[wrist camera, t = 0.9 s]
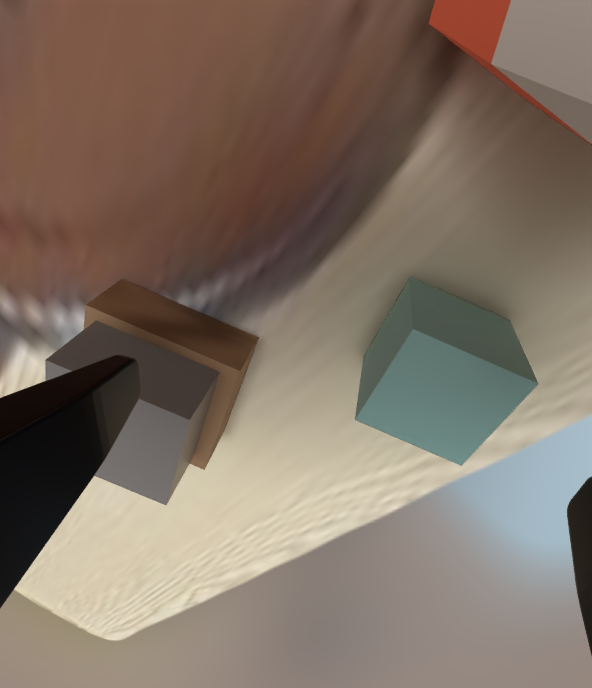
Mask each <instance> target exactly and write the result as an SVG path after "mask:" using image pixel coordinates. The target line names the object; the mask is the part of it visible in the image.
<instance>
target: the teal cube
mask: <svg viewBox="0 0 592 688" xmlns="http://www.w3.org/2000/svg"><path fill="white" fill-rule="evenodd" d="M537 385H538V382H537V380H536V377H535V375H534V373H533V371H532V369H531V366H530V364H529V362H528V360H527V358H526V355H525V353H524V351H523V349H522V347H521V344H520V342H519V340H518V338H517V336H516V333H515V331H514V329H513V327H512V325H511V322H510V320H508V319H506V318H504V317H501V316H499V315H497V314H494V313H492V312H490V311H488V310H485V309H483V308H481V307H479V306H476V305H474V304H472V303H470V302H467V301H465V300H463V299H460V298H458V297H456V296H454V295H451V294H449V293H447V292H445V291H442V290H440V289H438V288H435V287H433V286H431V285H429V284H426V283H424V282H422V281H420V280H417V279H415V278H413V277H410V278H409V280H408V282H407V283H406V285H405V287H404V289H403V290H402V292H401V294H400V295H399V297H398V299H397V301H396V302H395V304H394V306H393V307H392V309H391V311H390V313H389V314H388V316H387V318H386V319H385V321H384V323H383V325H382V326H381V328H380V330H379V331H378V333H377V335H376V337H375V338H374V340H373V342H372V344H371V345H370V347H369V349H368V350H367V352H366V354H365V356H364V357H363V365H362V372H361V379H360V387H359V394H358V402H357V409H356V416H355V420H357V421H359V422H361V423H364V424H366V425H368V426H371V427H373V428H375V429H378V430H380V431H382V432H384V433H387V434H389V435H391V436H394V437H396V438H398V439H401V440H403V441H405V442H408V443H410V444H412V445H415V446H417V447H419V448H421V449H424V450H426V451H428V452H431V453H433V454H435V455H438V456H440V457H442V458H445V459H447V460H449V461H452V462H454V463H456V464H459V465H461V466H462V465H463V463H464V462H465V461H466V460H467V459H468V458H469V457H470V456H471V455H472V454H473V453H474V452H475V451H476V450H477V449H478V448H479V446H480V445H481V444H482V443H483V442H484V441H485V440H486V439H487V438H488V437H489V436H490V435H491V434H492V433H493V432H494V431H495V429H496V428H497V427H498V426H499V425H500V424H501V423H502V422H503V421H504V420H505V419H506V418H507V417H508V416H509V415H510V414H511V412H512V411H513V410H514V409H515V408H516V407H517V406H518V405H519V404H520V403H521V402H522V401H523V400H524V399H525V398H526V396H527V395H528V394H529V393H530V392H531V391H532V390H533V389H534V388H535V387H536V386H537Z"/></svg>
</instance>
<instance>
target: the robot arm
mask: <svg viewBox="0 0 592 688" xmlns="http://www.w3.org/2000/svg"><path fill="white" fill-rule="evenodd" d="M140 394H141V382H140V371H139V363H138V361H137V360H136V359H135V358H132V357H128V356H124V355H114V356H111V357H109V358H106V359H103V360H101V361H98V362H95V363H93V364H90V365H87V366H85V367H82V368H79V369H76V370H74V371H71V372H68V373H66V374H63V375H60V376H58V377H55V378H52V379H50V380H47V381H44V382H42V383H39V384H36V385H34V386H31V387H28V388H26V389H23V390H20V391H18V392H15V393H12V394H10V395H7V396H4V397H2V398H0V608H1V607H2V605H3V604H4V602H5V601H6V599H7V598H8V597H9V595H10V594H11V593H12V591H13V590H14V588H15V587H16V585H17V584H18V583H19V581H20V580H21V578H22V577H23V576H24V574H25V573H26V571H27V570H28V568H29V567H30V566H31V564H32V563H33V561H34V560H35V559H36V557H37V556H38V554H39V553H40V552H41V550H42V549H43V547H44V546H45V544H46V543H47V542H48V540H49V539H50V537H51V536H52V535H53V533H54V532H55V530H56V529H57V527H58V526H59V525H60V523H61V522H62V520H63V519H64V518H65V516H66V515H67V513H68V512H69V510H70V509H71V508H72V506H73V505H74V503H75V502H76V501H77V499H78V498H79V496H80V495H81V494H82V492H83V491H84V489H85V488H86V486H87V485H88V484H89V482H90V481H91V479H92V478H93V477H94V475H95V474H96V472H97V471H98V469H99V468H100V466H101V465H102V463H103V462H104V460H105V459H106V457H107V455H108V454H109V452H110V450H111V449H112V447H113V445H114V443H115V441H116V439H117V438H118V436H119V434H120V432H121V430H122V429H123V427H124V425H125V423H126V421H127V420H128V418H129V416H130V414H131V412H132V411H133V409H134V407H135V405H136V403H137V402H138V400H139V397H140ZM567 518H568V526H569V534H570V542H571V549H572V557H573V565H574V572H575V581H576V587H577V594H578V598H579V603H580V608H581V613H582V617H583V621H584V626H585V630H586V634H587V638H588V642H589V646H590V651H591V655H592V477H590V478H588V479H587V481H586V482H585V483H584V484H583V486H582V487H581V488H580V490H579V491H578V492H577V493H576V494H575V496H574V497H573V498H572V499H571V501H570V502H569V505H568V508H567Z"/></svg>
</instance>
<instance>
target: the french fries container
mask: <svg viewBox="0 0 592 688" xmlns="http://www.w3.org/2000/svg"><path fill="white" fill-rule="evenodd" d="M429 24H430V25H431V26H432V27H434V28H435V29H436V30H438V31H439V32H440V33H441V34H443V35H444V36H445V37H446V38H448V39H449V40H450V41H452V42H453V43H454V44H455V45H457V46H458V47H459V48H460V49H462V50H463V51H464V52H466V53H467V54H468V55H469V56H471V57H472V58H473V59H474V60H476V61H477V62H478V63H480V64H481V65H482V66H483V67H485V68H486V69H487V70H488V71H490V72H491V73H492V74H494V75H495V76H496V77H497V78H499V79H500V80H501V81H502V82H504V83H505V84H506V85H508V86H509V87H510V88H511V89H513V90H514V91H515V92H516V93H518V94H519V95H520V96H522V97H523V98H524V99H526V100H527V101H529V102H530V103H531V104H533V105H534V106H536V107H537V108H539V109H540V110H542V111H543V112H544V113H546V114H547V115H549V116H550V117H552V118H553V119H555V120H556V121H557V122H559V123H560V124H562V125H563V126H565V127H566V128H568V129H569V130H571V131H572V132H573V133H575V134H576V135H578V136H579V137H581V138H582V139H584V140H585V141H586V142H588V143H589V144H591V145H592V0H435V3H434V6H433V10H432V13H431V17H430V20H429Z"/></svg>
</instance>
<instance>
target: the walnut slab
mask: <svg viewBox="0 0 592 688" xmlns="http://www.w3.org/2000/svg"><path fill="white" fill-rule="evenodd" d="M95 321H99V322H101V323H104V324H106V325H108V326H111V327H113V328H116V329H118V330H120V331H123V332H125V333H128V334H130V335H132V336H135V337H137V338H140V339H142V340H144V341H147V342H149V343H152V344H154V345H156V346H159V347H161V348H164V349H166V350H168V351H171V352H173V353H176V354H178V355H180V356H183V357H185V358H188V359H190V360H192V361H195V362H197V363H200V364H202V365H204V366H207V367H209V368H212V369H214V370H216V371H219V372H220V373H219V377H218V380H217V383H216V386H215V389H214V393H213V396H212V399H211V402H210V406H209V409H208V412H207V415H206V419H205V422H204V425H203V428H202V432H201V435H200V438H199V441H198V445H197V448H196V451H195V454H194V456H193V458H192V460H191V461H190V464H192V465H194V466H197V467H199V468H202V469H204V470H205V468H206V466H207V464H208V462H209V460H210V458H211V456H212V454H213V452H214V450H215V448H216V446H217V444H218V442H219V440H220V438H221V436H222V434H223V432H224V429H225V427H226V424H227V421H228V419H229V416H230V413H231V411H232V408H233V405H234V403H235V400H236V397H237V395H238V392H239V389H240V387H241V384H242V381H243V379H244V376H245V373H246V371H247V368H248V365H249V363H250V360H251V357H252V355H253V352H254V349H255V347H256V344H257V341H258V339H259V338H258V337H256V336H253V335H251V334H249V333H246V332H244V331H242V330H239V329H237V328H235V327H232V326H230V325H228V324H225V323H223V322H221V321H218V320H216V319H214V318H211V317H209V316H207V315H204V314H202V313H200V312H197V311H195V310H193V309H190V308H188V307H186V306H183V305H181V304H179V303H176V302H174V301H172V300H169V299H167V298H165V297H162V296H160V295H158V294H155V293H153V292H151V291H148V290H146V289H144V288H141V287H139V286H137V285H134V284H132V283H130V282H127V281H125V280H123V279H122V280H120V281H119V282H117V283H116V284H115V285H113V286H112V287H110V288H109V289H108V290H106V291H105V292H103V293H102V294H100V295H99V296H98V297H96V298H95V299H93V300H92V301H91V302H89V303H88V304H86V308H85V322H84V329H86V328H87V327H88V326H90V325H91V324H92V323H93V322H95Z"/></svg>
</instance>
